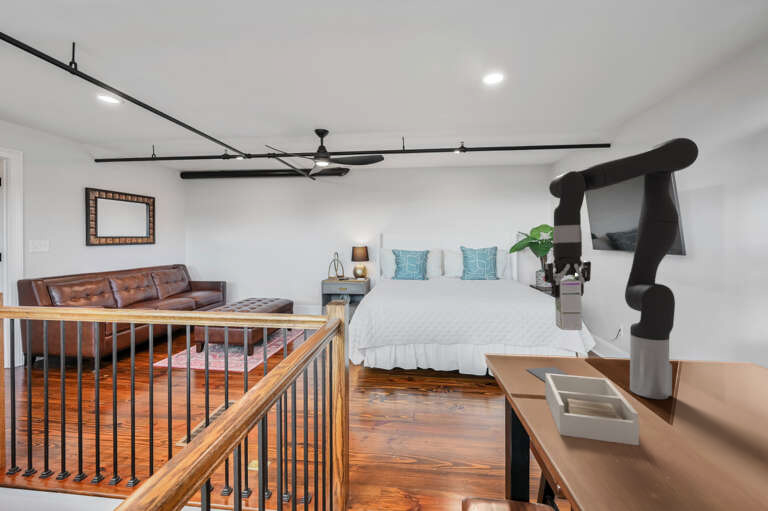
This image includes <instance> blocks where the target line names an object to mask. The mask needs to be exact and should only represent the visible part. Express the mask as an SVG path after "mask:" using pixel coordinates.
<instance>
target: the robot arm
mask: <svg viewBox="0 0 768 511" xmlns="http://www.w3.org/2000/svg"><path fill="white" fill-rule="evenodd" d="M698 147H699V146H698V145H697V143H695V141H693V140H692V139H691V138H687V137H676V138H673V139H669V140H667V141H664V142H661V143H659V144H656V145H654V146H652V147H651V148H650V149H649V150H647V151H644V152H642V153H638V154H637V153H636V154H634V155H631V156H630V155H629V156H626V157H622V158H617V159H613V160H609V161H605V162H602V163H599V164H595V165H592V166H588V167H586V168H584V169H582V170H578V171H575V170H574V171H571V170H570V171H567V172H565V173H563V174H560V175H557V176H555V177H554V178H553V179H552V180H551V182H550V184H549V188H548V189H549V192H550V195H552V196H553V197H554V198H557V199H559V204H558V205H557V206H556V207H555V209H554V211H553V232H552V255H553V258H554V260H553V261H552V262H544V263H543V271H544V272H543V273H544V274H543V275H544V283H548V284H550V285H551V295H552V297H553V298H559V297H560V285H559V283H560V281H561V279H565V277H567V276H571V277H572V279H575V280H579V281H581V297H583V295H584V292H585V291H584V290H585V289H584V288H585V286H584V285H585V283H587V282H590V281H591V274H592V273H591V272H592V271H591V270H592V263H591V261H589V260H588V261H587V260H581V257H582V255H583V233H582V224H581V223H582V222H581V220H582V219H581V209H582V206H583V203H584V199H585V194H586V192H589V191H594V190H595V191H596V190H599V189H603V188H607V187H610V186H614V185H617V184H620V183H624V182H626V181H629V180H632V179H635V178H638V177H641V176H643V189H642V190H643V191H642V198H641V208H640V214H639V220H638V225H637V231H636V241H635V247H634V253H633V260H632V264H631V268H630V272H629V276H628V280H627V284H626V286H625V291H624V299H625V302H626V304H627V306H628V307H629V308H630V309H632V310H635V311H636V312H640V318H639V322H637V323H632V324H631V326H630V330H629V333H630V338H629V339H630V340H629V343H630V344H629V345H630V346H629V347H630V349H629V351H630V352H629V354H630V355H629V390H630V391H631V393H634V394H636V395H638V396H640V397H644V398H647V399H652V400H653V399H654V400H666V399H668V398H669V397H670V396H671V397H672V396H673V394H672V393H673V392H672V391H673V386H672V385H673V382H672V381H673V365H672V363H671V362H670V339H671V338H670V336H671V335H670V334H671V332H672V331H673V328H674V323H675V322H674V320H675V312H676V310H675V309H676V308H675V307H676V300H675V295H674V292H673V291H672V289H671V288H670V287H668V286H667V285H664V284H662V283H656V278H657V274H658V273H657V272H658V268H659V266H660V264H661V262H662V261H663V259H665V256H666V255H667V254H668V252H670V249H671V248H672V247H673V245H674V243H675V241H676V237H677V234H678V227H679V226H678V225H679V214H678V210H677V208H676V205H675V203H674V201H673V199H672V197H671V194H670V183H671V178H672V174H673V173H675V172H678V171H682V170H685V169H687V168H688V167H691V165H693V164H695V162H696V160H697V158H698V156H699V148H698Z"/></svg>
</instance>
